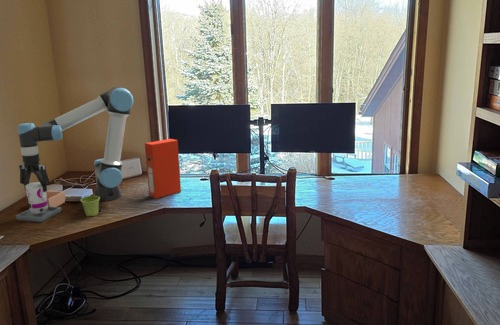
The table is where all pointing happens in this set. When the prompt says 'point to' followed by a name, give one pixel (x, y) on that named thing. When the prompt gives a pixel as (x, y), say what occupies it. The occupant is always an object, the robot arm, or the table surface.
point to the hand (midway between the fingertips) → (37, 197)
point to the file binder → (163, 168)
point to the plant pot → (90, 205)
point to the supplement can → (36, 198)
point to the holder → (55, 198)
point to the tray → (38, 215)
